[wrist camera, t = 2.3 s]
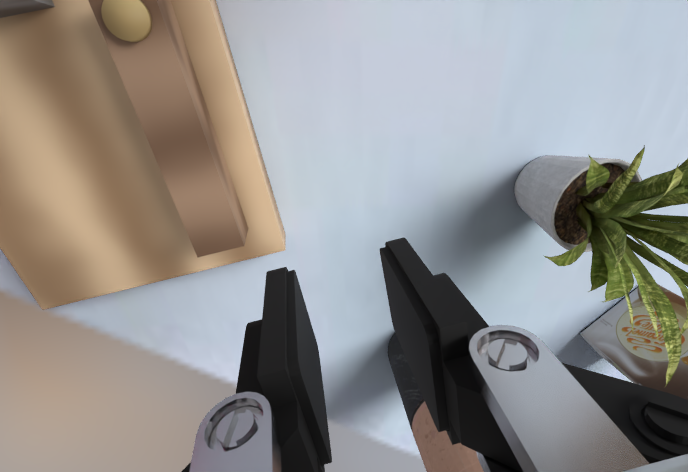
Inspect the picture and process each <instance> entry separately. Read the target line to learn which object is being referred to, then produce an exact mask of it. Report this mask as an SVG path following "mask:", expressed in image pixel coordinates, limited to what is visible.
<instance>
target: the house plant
mask: <svg viewBox="0 0 688 472" xmlns="http://www.w3.org/2000/svg"><path fill="white" fill-rule="evenodd" d="M644 149H645V145H644V148H643V149H642V150H641V151H640V152H639V153H638V154H637V155H636V157H635V158H634V160H633V162H632V163H631V164H630V163H628V162H625V161H623V160H620V159H607V158H591V157H590V156H589V157H572V156H555V155H545V156H542V157H538V158H536V159H534V160H533V161H531V162H530V163H529V164H527V165H526V166H525V167H524V168H523V170H522V171H521V172H520V174H519V176H518V178H517V180H516V183H515V187H514V192H515V197H516V200H517V203H518V205H519V206H520V208H521V209H522V210H523V211H524V212H526V213H527V214H528V215H529V216H530V217H531V218H532V219H533V220H534V221H535V222H536V223H537V224H538V225H539V226H540V227H541V228H542V229H543V230H544V231H546V232H547V233H548V234H549V235H550V236H551V237H552V238H553V239H554V240H555V241H556V242H557V243H558V244H559V245H561V246H562V247H564V248H565V249H567V250H569V251H567V252H565V253H564V254H562V255H559V256H554V257H547V256H544V257H546V258H548V259H550V260H551V261H553V262H554V263H555V264H557V265H558V266H566V265H570V264H572V263H573V262H575V261H576V260H577V259H578V258H579V257H580V256H581V255H582V253H583V252H588V251H592V253H593V255H592V266H591V284H592V287H591V290H590V291H592V290H594V289H596V288H598V287H600V286H602V285H604V284H605V283H606V282H607V287H606V292H605V298H606V301H610V300H613V299H616V298H620V297H623V296H624V295H625V297H626V300H627V304H628V308H629V313H630V319H631V325H632V331H633V310H632V305H631V301H630V297H629V294H628V293H629V292H630V290H631V289H632V288H633V284H634V280H633V275H632V272H633V274H634V276H635V278H636V280H637V283H638V286H639V289H640V292H641V296H642V299H643V302H644V305H645V307H646V309H647V311H648V313H649V316H650V318H651V321H652V324H653V327H654V330H655V333H656V336H657V338H658V329H657V319H656V315H655V313H654V310H653V307H654V309H655V311H656V313H657V316H658V319H659V322H660V324H661V329H662V333H663V338H664V342H665V345H666V349H667V353H668V359H669V363H668V368H667V373H666V385H667V384H668V383H669V381H670V380H671V378H672V376H673V374H674V372H675V371H676V369H677V366H678V363H679V360H680V356H681V335H682V334H683V333H684V331H685V330H686V329H687V328H688V289H687V287H688V273H687V272H685V271H684V270H682V269H680V268H678V267H677V266H675V265H673V264H671V263H670V262H668V261H667V260H665V259H663V258H662V257H660V256H658V255H657V254H655V253H654V252H653V251H651V250H650V249H649V248H648V247H647V246H646V245H645V244H643V243H642V242H641V241H640V240H642V241H644V242H646V243H648V244H650V245H651V246H653V247H656V248H658V249H660V250H662V251H664V252H666V253H669V254H670V255H672V256H673V257H675V258H676V259H678V260H679V261H681V262H682V263H684V264H686V265H688V217H687V216H668V215H653V214H644V213H641V212H643V211H647V210H652V209H657V208H662V207H666V206H671V205H679V204H686V203H688V159H687V160H686V161H685V162H684V163H682V164H681V165H680V166H679V167H678V166H677V168H676V169H674V170H672V171H669V172H665V173H662V174H659V175H655V176H652V177H650V178H647V179H645V180H643V181H642V179H641V177H640V175H639V173H638V171H637V169H638V168H639V166H640V163H641V160H642V156H643V153H644ZM678 165H679V164H678ZM653 220H656V221H653ZM664 221H666V222H664ZM678 222H680V223H678ZM627 234H628V235H630V236H632V237H633V238H634V239H635V240H636V241H637V242H639V243H640V244H641V245H642V246H641V245H639V244H638V243H636V242H635V241H633V240H632V239H630V238H629V237H627ZM637 238H638V239H637ZM639 239H640V240H639ZM633 251H634V252H635V253H637V254H638V255H640V256H641V257H643V258H645V259H646V260H648V261H649V262H651V263H653V264H655V265H656V266H658V267H660V268H662V269H663V270H665V271H666V272H668V273H669V274H670V275H671V276H672V277H673V279H674V280H675V282H676V283H677V285H678V286H679V287H680V289H681V292H682V294H683V297H684V299H685V303H686V307H687V318H686V321H685V323H684V325H683V327H682V329H681V332H680V329H679V324H678V321H677V317H676V314H675V312H674V309H673V307H672V305H671V303H670V301H669V299H668V297H667V296H666V295H665V294H664V292H663V291H662V290H661V289H660V287H659V286H658V285H657V283H656V282H655V280H654V279H653V277H652V276H651V275H650V273H649V272H648V270H647V269H646V268H645V266H644V265H643V264H642V262H641V261H640V260H639V259H638V257H637V256H636V255H635V254H634V252H633ZM631 271H632V272H631ZM684 284H685V285H686V286H687V287H686V286H685V285H684ZM648 296H649V297H648ZM649 298H650V300H651V302H652V304H653V307H652V305H651V303H650V300H649ZM606 301H604V302H606ZM658 341H659V340H658Z"/></svg>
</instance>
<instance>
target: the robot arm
mask: <svg viewBox="0 0 688 472" xmlns="http://www.w3.org/2000/svg"><path fill="white" fill-rule="evenodd" d="M385 245H386V247H384V248H380V255H381V261H382V267H383V272H384V278H385V283H386V289H387V295H388V300H389V306H390V312H391V317H392V323H393V327H394V330H395V333H396V335H397V338H398V340H399V342H400V345H401V347H402V349H403V352H404V354H405V356H406V359H407V361H408V363H409V366H410V368H411V370H412V373H413V375H414V377H415V380H416V382H417V384H418V387H419V389H420V391H421V394H422V396H423V398H424V401H425V403H426V405H427V408H428V410H429V412H430V415H431V417H432V419H433V422H434V424H435V426H436V428H437V430H438V432H442V431H446V432H447V434H448V436H449V439H450V441H451V443H452V445H454V444H458V443H461V444H462V445H464V446H466V447H468V448H470V449H472V450H474V451H476V453H477V457H478V460H479V462H480V464H481V467H482V469H483V471H484V472H688V400H687V399H684V398H681V397H679V396H676V395H673V394H670V393H667V392H663V391H660V390H656V389H653V388H649V387H645V386H642V385H638V384H635V383H631V382H628V381H624V380H621V379H617V378H613V377H610V376H606V375H603V374H599V373H596V372H592V371H589V370H585V369H581V368H578V367H574V366H571V365H567V364H564V363H561V362H560V361H559V360H558V359H557V357H556V356H555V355H554V354H553V353H552V352H551V351H550V349H549V348H548V347H547V346H546V345H545V344H544V343H543V341H541V340H540V339H539V338H538V337H537V336H536V335H534V334H533V333H531V332H529V331H527V330H525V329H522V328H518V327H515V326H507V325H496V326H488V324H487V323H486V322H485V321H484V320H483V318H482V317H481V316H480V315H479V313H478V312H477V311H476V310H475V309H474V307H473V306H472V305H471V304H470V302H469V301H468V300H467V299H466V297H465V296H464V295H463V294H462V293H461V291H460V290H459V289H458V288H457V286H456V285H455V284H454V283H453V282H452V280H451V279H450V278H449V277H448V276H447V275H446V274H445V273H442V274H438V275H434V276H433V275H432V274H431V272H430V271H429V270H428V268H427V267H426V266H425V264H424V263H423V262H422V260H421V259H420V257H419V256H418V255H417V253H416V252H415V251H414V249H413V248H412V247H411V245H410V244H409V243H408V241H407V240H406V239H405V238H400V239H396V240H392V241H388V242H386V243H385ZM331 462H332V457H331V448H330V440H329V432H328V424H327V415H326V407H325V399H324V391H323V382H322V374H321V366H320V358H319V351H318V346H317V342H316V339H315V335H314V332H313V329H312V325H311V322H310V319H309V315H308V312H307V309H306V305H305V302H304V299H303V295H302V292H301V289H300V285H299V282H298V279H297V275H296V272H295V270H292V271H288V270H287V268H286V267H284V268H280V269H276V270H272V271H268V272H267V275H266V285H265V296H264V307H263V317H262V320H258V321H254V322H250V323H248V324H247V326H246V331H245V338H244V344H243V351H242V357H241V364H240V370H239V376H238V383H237V389H236V394H235V395H232V396H230V397H228V398H225V399H224V400H223V401H221V402H220V403H218V404H217V405H215V407H213V408H212V409H211V410H210V412H208V413H207V415H206V416H205V418H204V419H203V421H202V422H201V424H200V426H199V429H198V432H197V435H196V440H195V445H194V450H193V455H192V460H191V463H190V464H189V465H188V466H187V467H186V468H185V469H184V470H183V471H182V472H325V469H324V464H328V463H331Z"/></svg>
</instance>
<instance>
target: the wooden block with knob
mask: <svg viewBox="0 0 688 472" xmlns="http://www.w3.org/2000/svg"><path fill="white" fill-rule="evenodd" d="M170 1H171V3H172V6H173V9H174V12H175V15H176V18H177V21H178V24H179V27H180V30H181V33H182V36H183V38H184V41H185V44H186V47H187V50H188V53H189V56H190V59H191V62H192V65H193V68H194V71H195V74H196V76H197V79H198V82H199V85H200V88H201V91H202V94H203V97H204V100H205V103H206V106H207V109H208V111H209V114H210V117H211V120H212V123H213V126H214V129H215V132H216V135H217V138H218V141H219V144H220V146H221V149H222V152H223V155H224V158H225V161H226V164H227V167H228V170H229V173H230V176H231V179H232V181H233V184H234V187H235V190H236V193H237V196H238V199H239V202H240V205H241V208H242V211H243V214H244V216H245V219H246V222H247V225H248V233H247V237H246V241H245V245H244V246H243V247H239V248H235V249H230V250H226V251H222V252H218V253H214V254H210V255H206V256H202V257H197V255H196V253H195V250H194V248H193V246H192V243H191V241H190V239H189V236H188V234H187V231H186V229H185V227H184V224H183V222H182V220H181V217H180V215H179V213H178V210H177V208H176V206H175V203H174V201H173V199H172V196H171V194H170V191H169V189H168V187H167V184H166V182H165V180H164V177H163V175H162V173H161V170H160V168H159V166H158V163H157V161H156V159H155V156H154V154H153V152H152V149H151V147H150V144H149V142H148V140H147V137H146V135H145V133H144V130H143V128H142V126H141V123H140V121H139V119H138V116H137V114H136V112H135V109H134V107H133V104H132V102H131V100H130V97H129V95H128V93H127V90H126V88H125V86H124V83H123V81H122V79H121V76H120V74H119V72H118V69H117V67H116V64H115V62H114V60H113V57H112V55H111V53H110V50H109V48H108V46H107V43H106V41H105V39H104V36H103V34H102V32H101V29H100V27H99V25H98V22H97V20H96V17H95V15H94V13H93V10H92V8H91V6H90V3H89V1H88V0H0V248H1V250H2V251H3V253H4V254H5V256H6V257H7V259H8V260H9V262H10V263H11V265H12V266H13V267H14V269H15V270H16V272H17V273H18V275H19V276H20V278H21V279H22V281H23V282H24V284H25V285H26V287H27V288H28V289H29V291H30V292H31V294H32V295H33V297H34V298H35V300H36V301H37V303H38V304H39V306H40V307H41V308H42V310H45V309H49V308H53V307H57V306H61V305H65V304H69V303H73V302H77V301H81V300H85V299H89V298H93V297H97V296H101V295H105V294H110V293H114V292H118V291H122V290H126V289H130V288H134V287H138V286H142V285H146V284H150V283H154V282H158V281H162V280H166V279H170V278H174V277H178V276H183V275H187V274H191V273H195V272H199V271H203V270H207V269H211V268H215V267H219V266H223V265H227V264H231V263H235V262H239V261H243V260H247V259H252V258H256V257H260V256H264V255H268V254H272V253H276V252H280V251H284V250H285V232H284V228H283V225H282V222H281V218H280V215H279V212H278V208H277V205H276V201H275V198H274V195H273V191H272V188H271V185H270V181H269V178H268V175H267V171H266V168H265V165H264V161H263V158H262V154H261V151H260V148H259V144H258V141H257V138H256V134H255V131H254V128H253V124H252V121H251V117H250V114H249V111H248V107H247V104H246V101H245V97H244V94H243V91H242V87H241V84H240V80H239V77H238V74H237V70H236V67H235V64H234V60H233V57H232V54H231V50H230V47H229V43H228V40H227V37H226V33H225V30H224V27H223V23H222V20H221V17H220V13H219V10H218V7H217V3H216V0H170Z"/></svg>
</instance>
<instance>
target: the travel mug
mask: <svg viewBox="0 0 688 472" xmlns="http://www.w3.org/2000/svg"><path fill="white" fill-rule="evenodd" d="M388 356H389V360H390V364H391V367H392V370H393V373H394V377H395V380H396V383H397V386H398V389H399V392H400V395H401V398H402V401H403V405H404V408H405V411H406V414H407V417H408V420H409V423H410V426H411V430H412V432H413V436H414V438H415V441H416V444H417V446H418V449H419V452H420V455H421V457H422V460H423V463H424V465H425V468H426V471H427V472H484V471H483V469H482V467H481V464H480V462H479V460H478V457H477V453H476V451H474V450H472V449H470V448H468V447H466V446H464V445H462V444H461V443H458V444H454V445H452V443H451V441H450V439H449V436H448V434H447V432H446V431H442V432H438V430H437V428H436V426H435V424H434V422H433V419H432V417H431V415H430V412H429V410H428V408H427V405H426V403H425V401H424V398H423V396H422V394H421V391H420V389H419V387H418V384H417V382H416V380H415V377H414V375H413V373H412V370H411V368H410V366H409V363H408V361H407V359H406V356H405V354H404V352H403V349H402V347H401V345H400V342H399V340H398V338H397V335H396V333H395V334H394V335H393V336H392V338H391V340H390V342H389V346H388Z"/></svg>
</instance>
